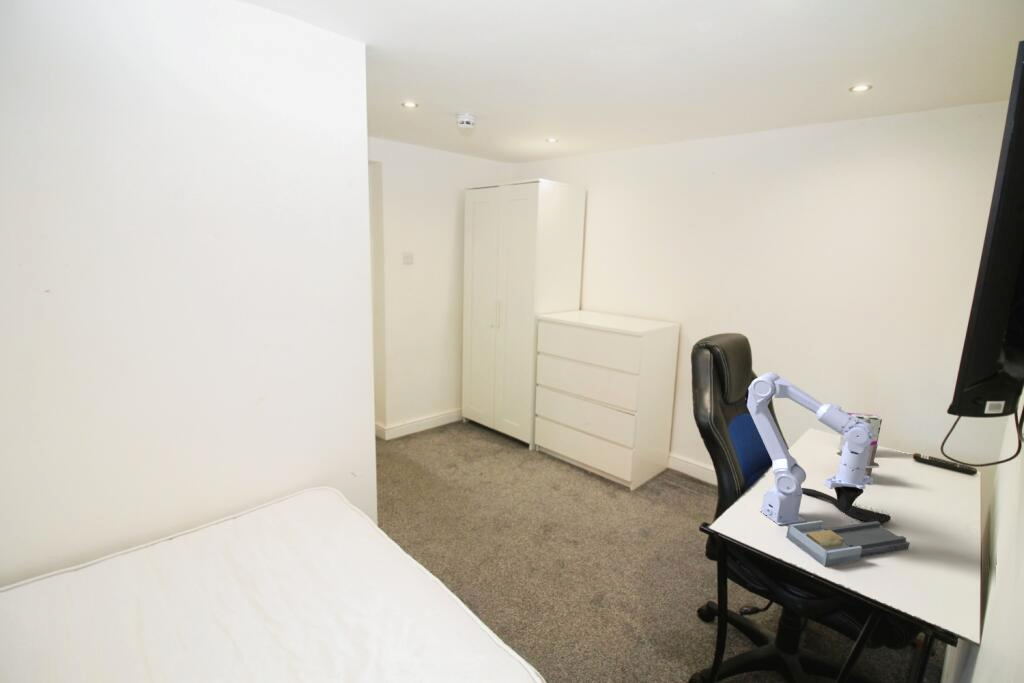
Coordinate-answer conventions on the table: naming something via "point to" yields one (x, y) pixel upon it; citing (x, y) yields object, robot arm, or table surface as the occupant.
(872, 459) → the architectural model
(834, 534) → the cream square block
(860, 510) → the hairbrush
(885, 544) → the slotted bar
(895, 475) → the table surface
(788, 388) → the robot arm
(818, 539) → the brass chip
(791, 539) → the tray
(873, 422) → the candy bar box
